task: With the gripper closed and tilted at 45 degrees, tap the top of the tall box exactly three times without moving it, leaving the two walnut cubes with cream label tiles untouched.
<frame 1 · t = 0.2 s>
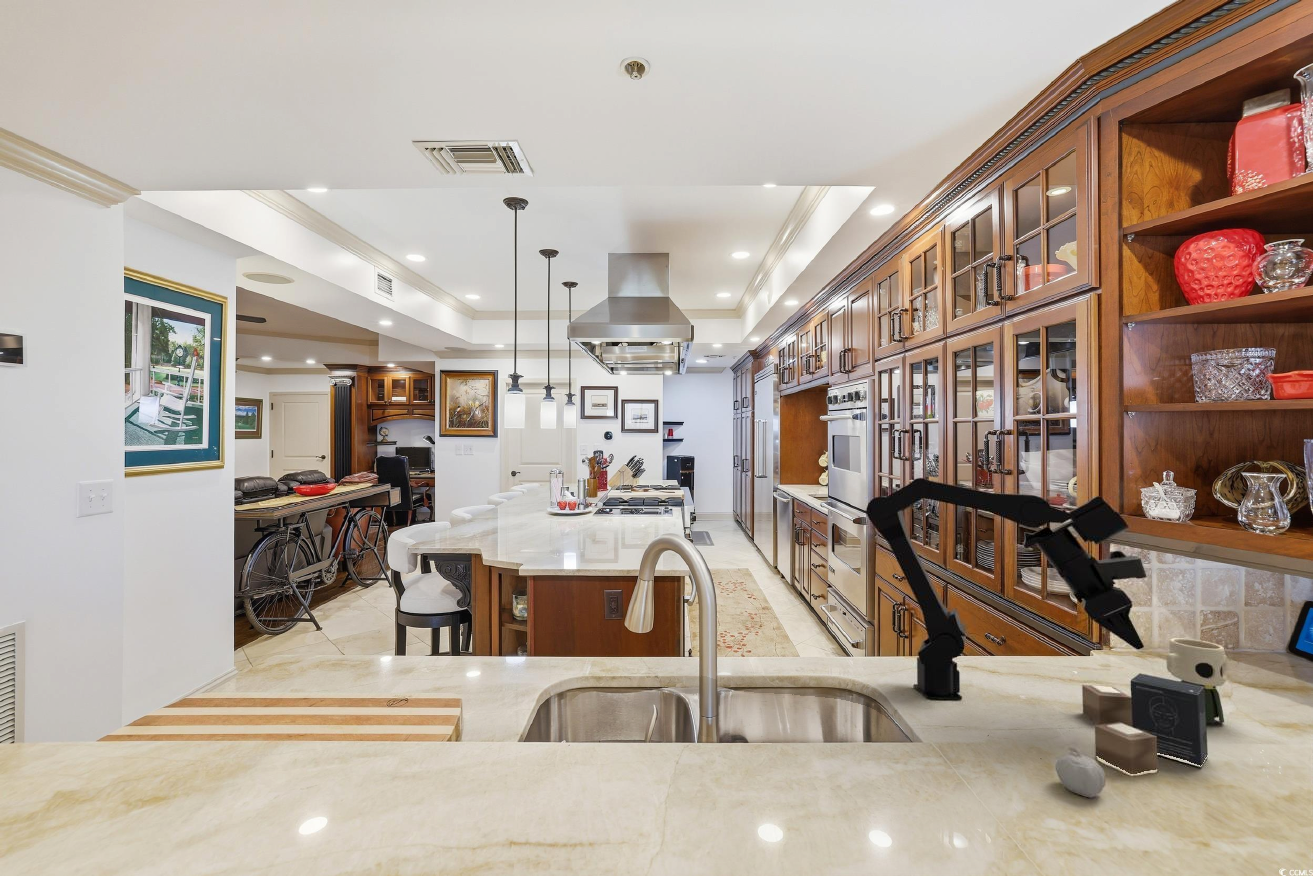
hand: (1134, 641, 96), 14 cm above the countertop, tool tilted 35°, fingers open, 9 cm apart
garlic: (1080, 793, 76), on the countertop
walnut cube near: (1126, 766, 84), on the countertop
box: (1169, 755, 88), on the countertop
character mug: (1199, 720, 101), on the countertop
walnut cube far: (1107, 720, 100), on the countertop
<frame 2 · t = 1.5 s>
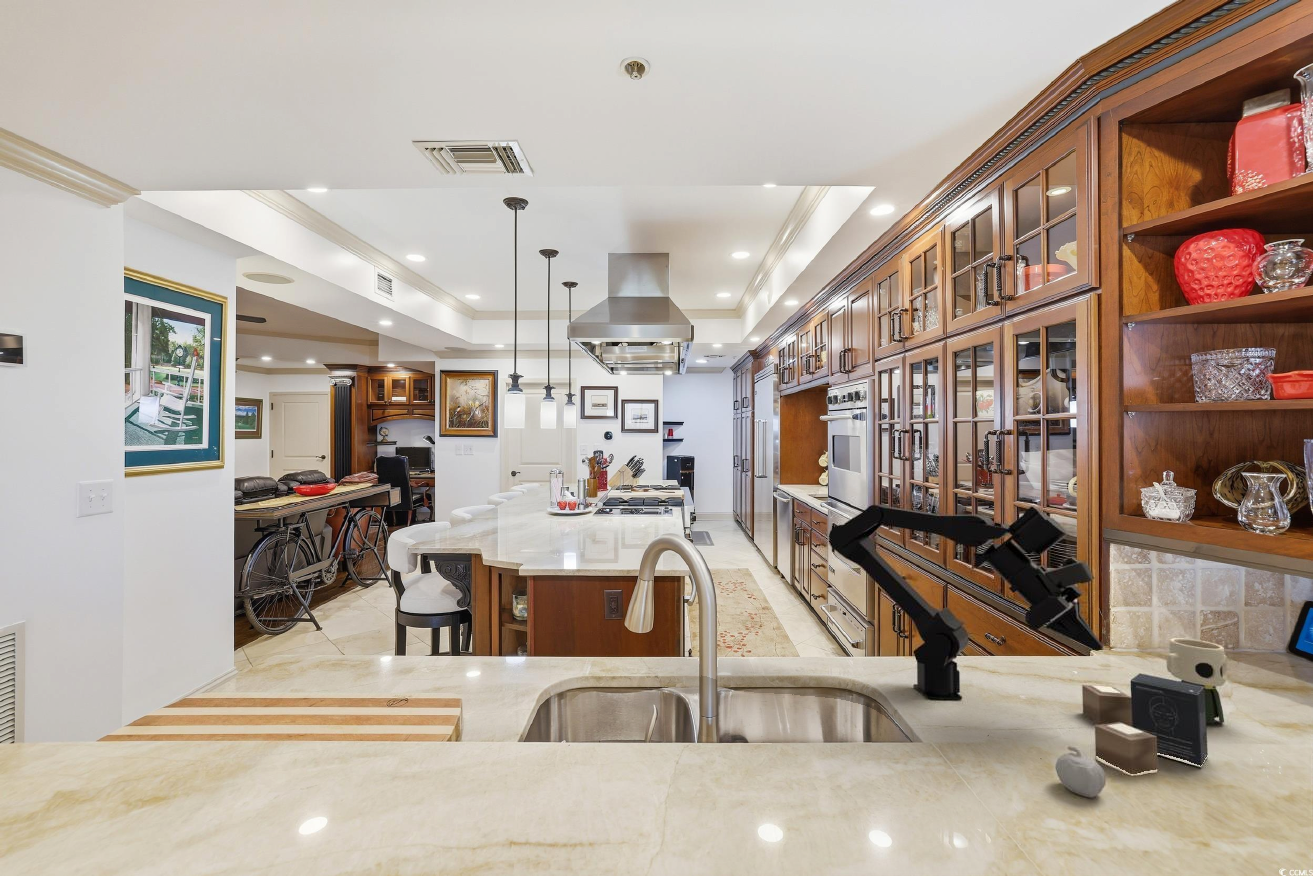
hand: (1100, 649, 94), 14 cm above the countertop, tool tilted 45°, fingers closed
nothing on the countertop moved.
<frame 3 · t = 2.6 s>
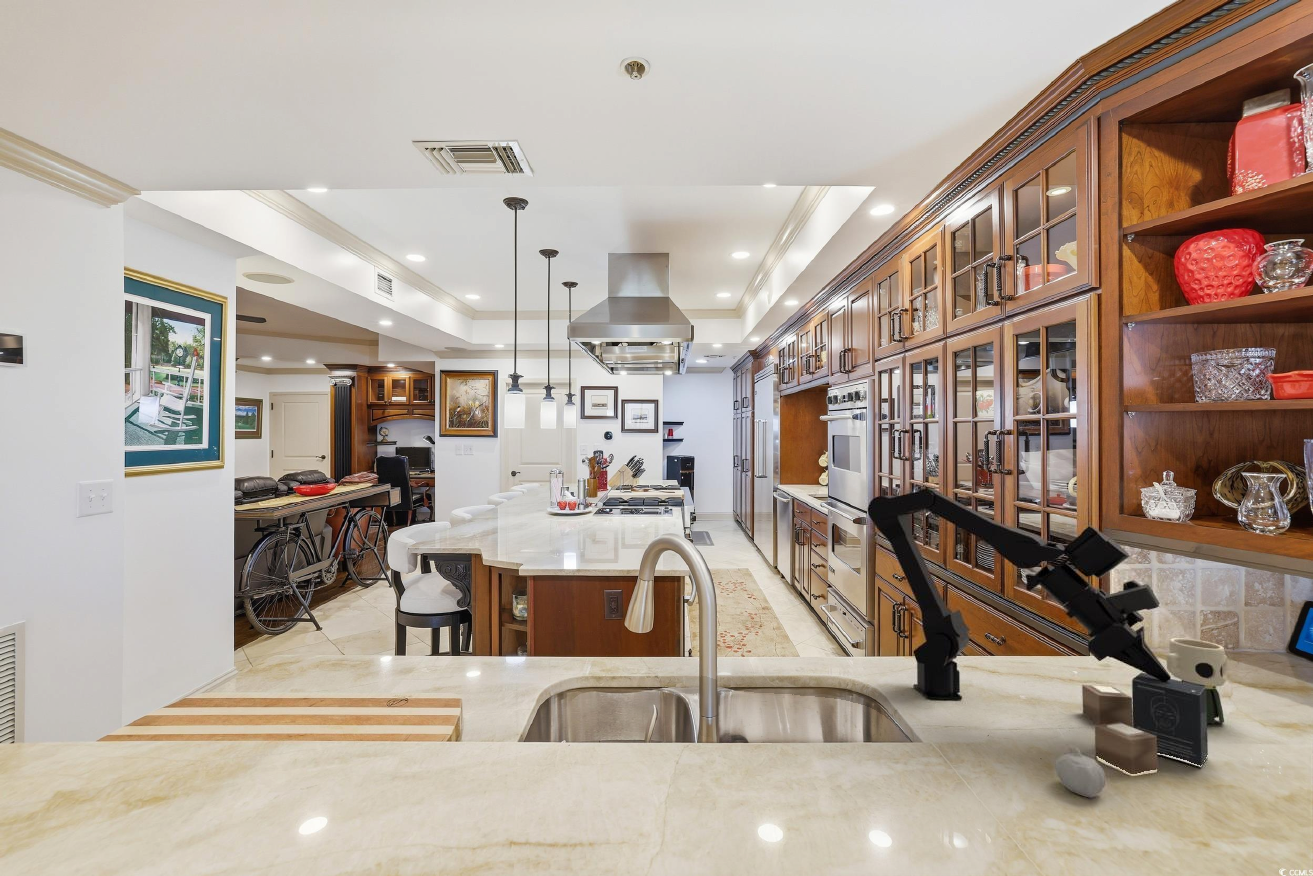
hand: (1168, 679, 88), 11 cm above the countertop, tool tilted 45°, fingers closed, pressing on box
box: (1169, 754, 88), on the countertop, touching gripper
everything else where it was.
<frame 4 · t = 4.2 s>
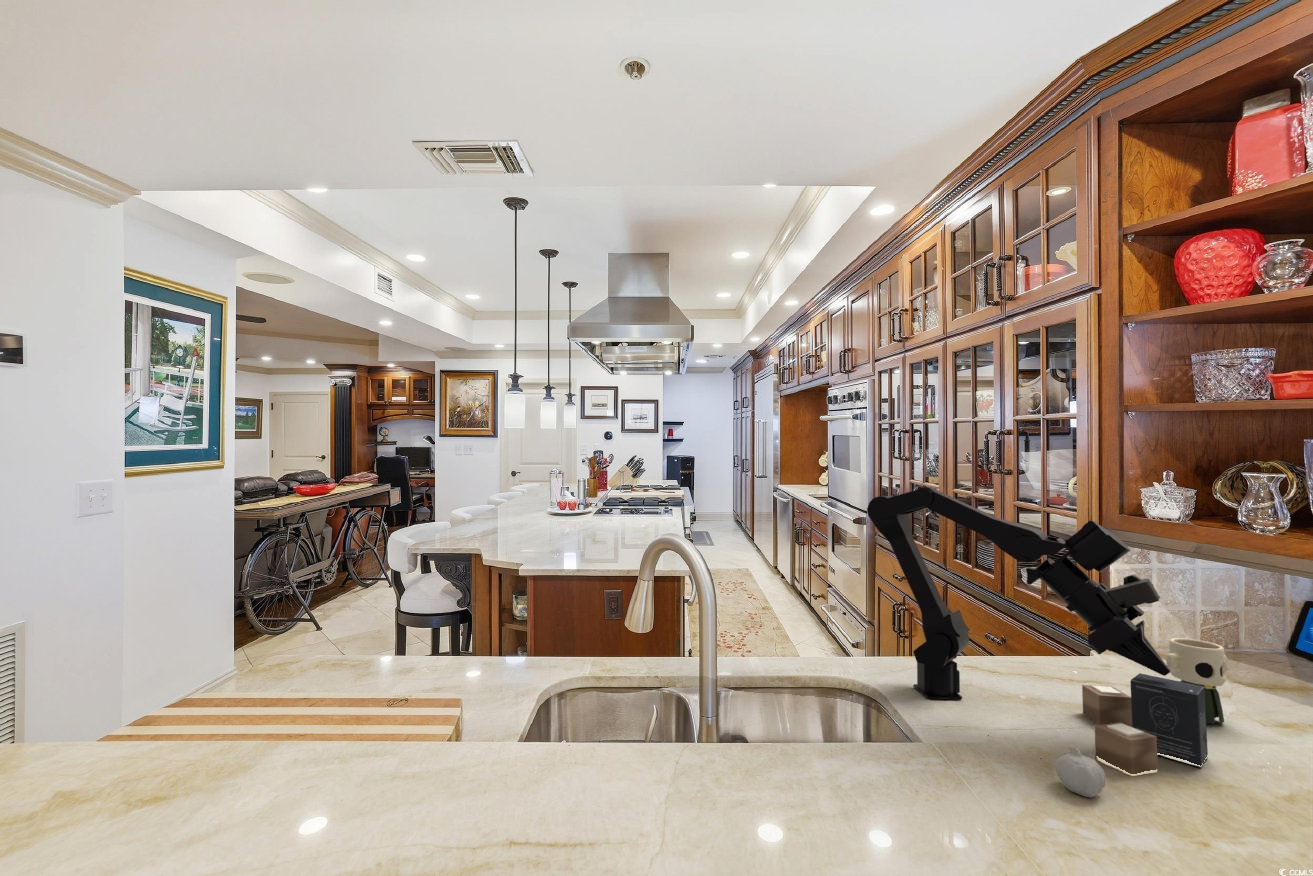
hand: (1167, 673, 88), 12 cm above the countertop, tool tilted 45°, fingers closed
box: (1169, 755, 88), on the countertop
everything else where it was.
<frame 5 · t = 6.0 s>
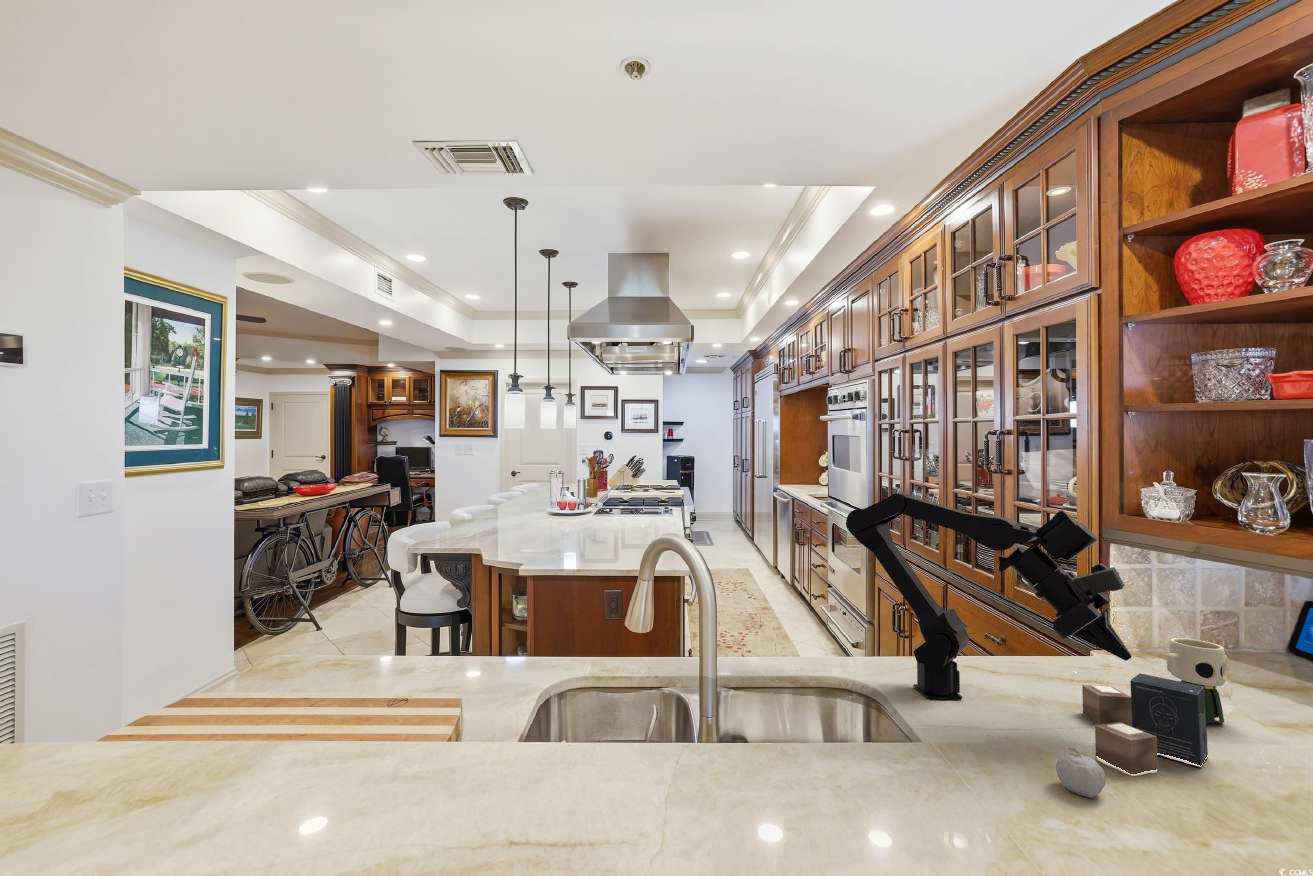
hand: (1129, 658, 92), 13 cm above the countertop, tool tilted 45°, fingers closed
nothing on the countertop moved.
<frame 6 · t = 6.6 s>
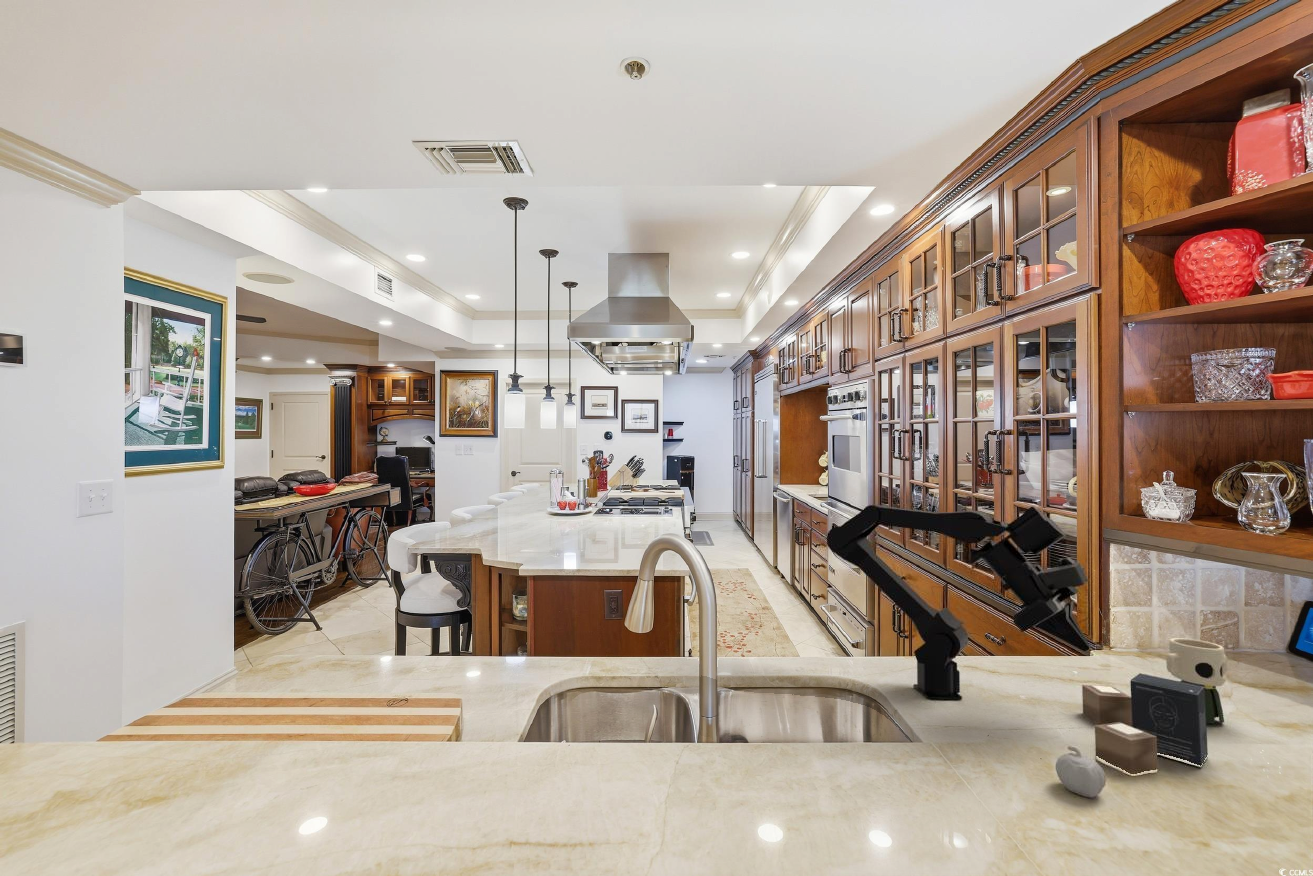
hand: (1087, 649, 96), 13 cm above the countertop, tool tilted 40°, fingers closed
nothing on the countertop moved.
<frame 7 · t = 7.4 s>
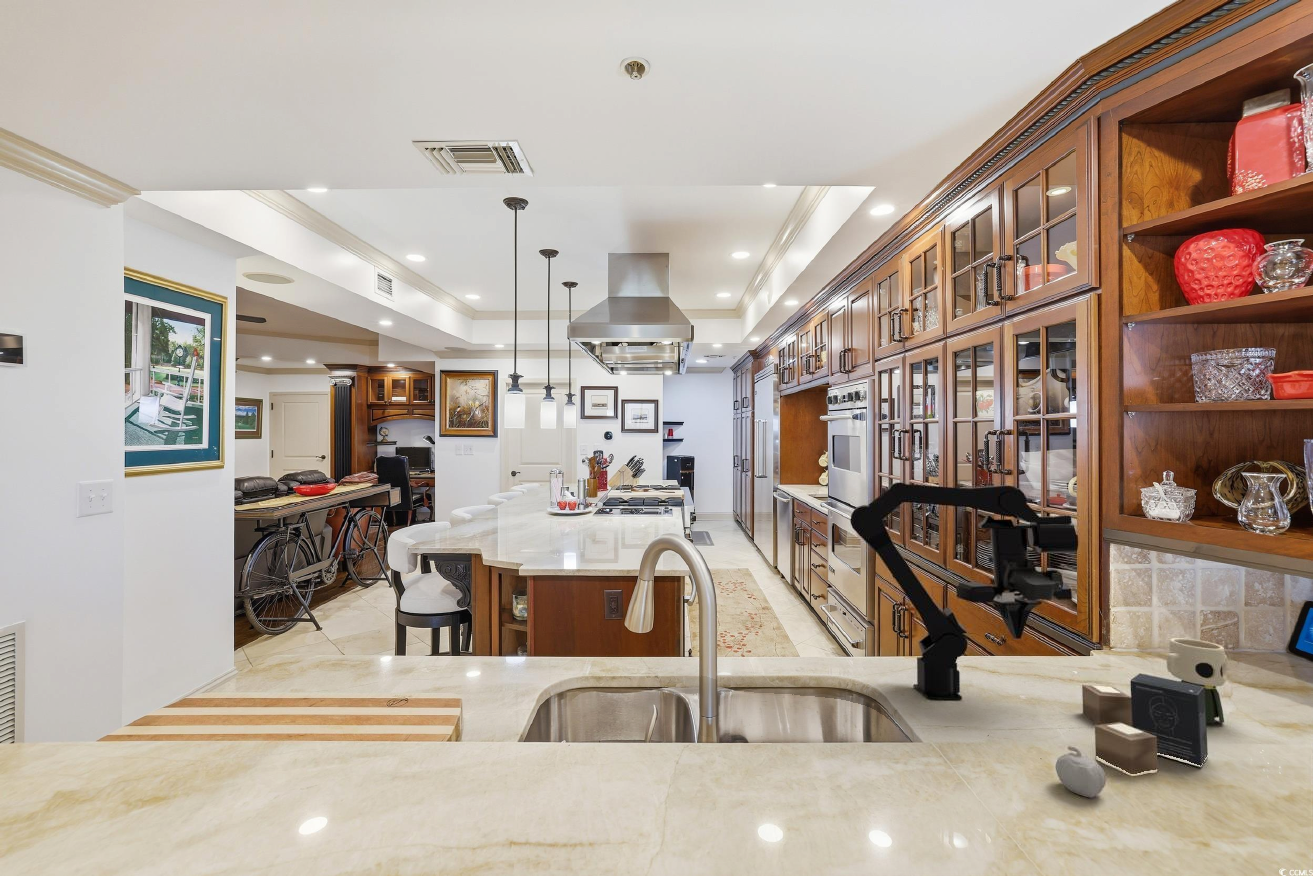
hand: (1016, 638, 107), 12 cm above the countertop, tool pointing down, fingers closed
nothing on the countertop moved.
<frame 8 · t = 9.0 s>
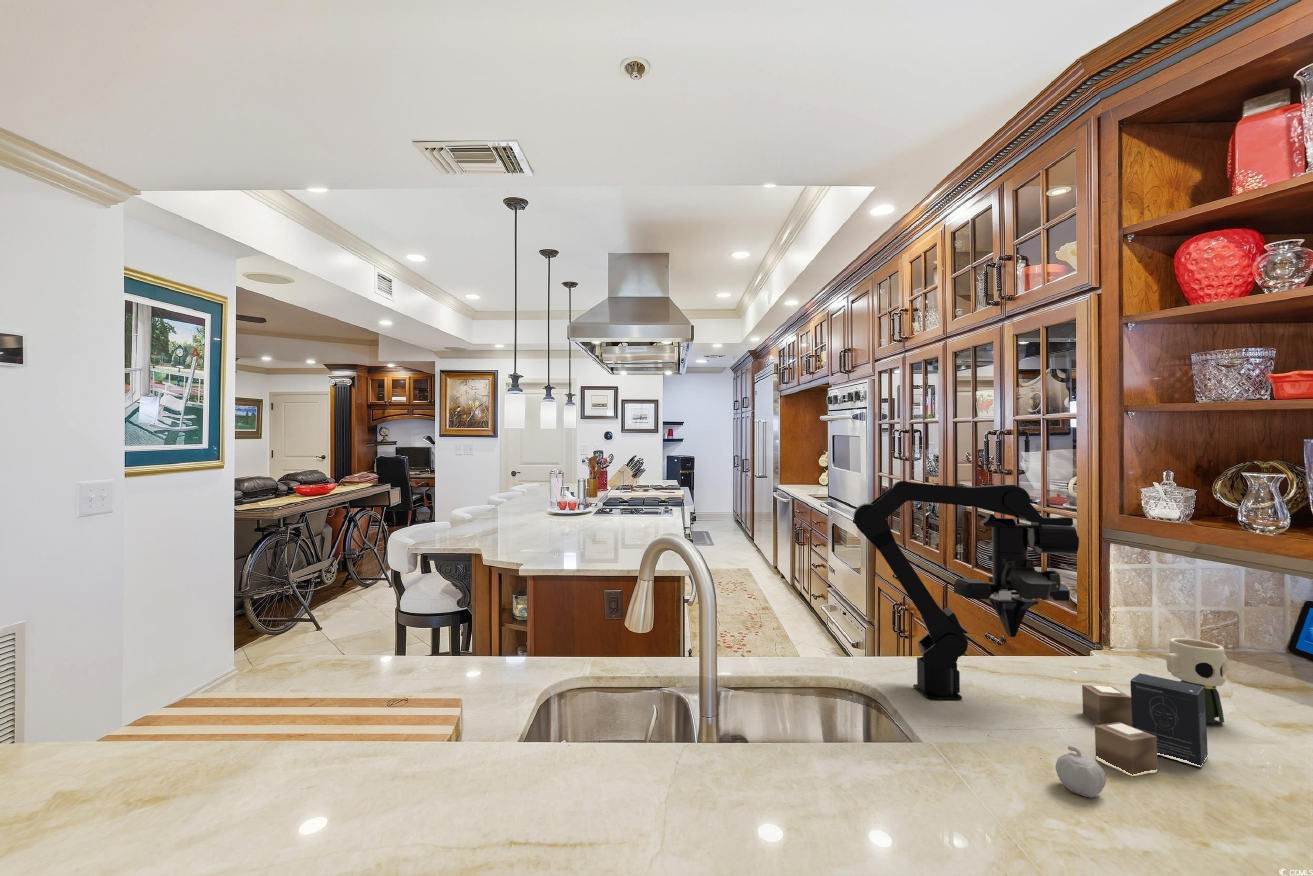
hand: (1011, 636, 107), 12 cm above the countertop, tool pointing down, fingers closed
nothing on the countertop moved.
at the end: box moved 0.3 cm from its start; box tilted 0°; walnut cube far moved 0.1 cm from its start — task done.
